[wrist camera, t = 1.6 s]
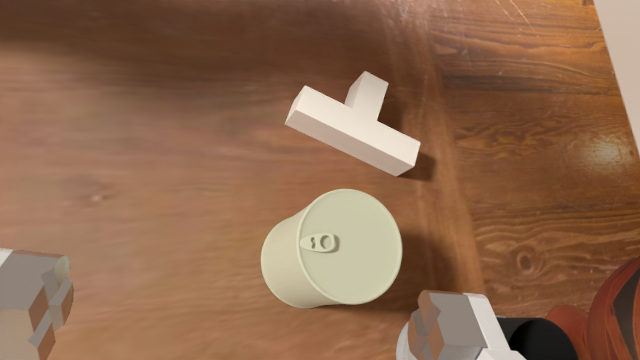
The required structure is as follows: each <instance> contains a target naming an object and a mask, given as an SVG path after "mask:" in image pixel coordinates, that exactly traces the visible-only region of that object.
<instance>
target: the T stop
mask: <svg viewBox="0 0 640 360" xmlns="http://www.w3.org/2000/svg"><path fill="white" fill-rule="evenodd" d="M387 87H388V83H387V82H385V81H383V80H382V79H380V78H378V77H376V76H374V75H372V74H370V73H368V72H366V71H364V72H363V73H362V75H361V76H360V77H359V78H358V79H357V80H356V81H355V82H354V83H353V84H352V85H351V87H350V89H349V92H348V94H347V97H346V100H345V103H344V104H342V103H340V102H338V101H336V100H334V99H332V98H330V97H328V96H326V95H324V94H322V93H320V92H318V91H316V90H314V89H312V88H310V87H308V86H306V85H305V86H304V87H303V89H302V90H301V92H300V93H299V95H298V96H297V97H296V99H295V100H294V102H293V104H292V107H291V109H290V112H289V114H288V117H287V119H286V122H285V125H287V126H289V127H291V128H293V129H296V130H298V131H300V132H302V133H304V134H306V135H308V136H310V137H313V138H315V139H317V140H319V141H321V142H323V143H325V144H327V145H330V146H332V147H334V148H336V149H338V150H340V151H342V152H344V153H347V154H349V155H351V156H353V157H355V158H357V159H359V160H361V161H364V162H366V163H368V164H370V165H372V166H374V167H376V168H378V169H381V170H383V171H385V172H387V173H389V174H391V175H393V176H395V177H396V176H398V175H400V174H402V173H403V172H405V171H407V170H409V169H411V168H412V167H414V166H415V162H416V158H417V154H418V150H419V147H420V142H418V141H416V140H414V139H412V138H410V137H408V136H406V135H404V134H402V133H400V132H398V131H396V130H394V129H392V128H390V127H388V126H386V125H384V124H382V123H380V122H378V121H377V119H378V116H379V112H380V109H381V106H382V103H383V99H384V96H385V93H386V90H387Z"/></svg>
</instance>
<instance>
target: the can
mask: <svg viewBox="0 0 640 360" xmlns="http://www.w3.org/2000/svg"><path fill="white" fill-rule="evenodd" d="M401 261H402V240H401V236H400V232H399V229H398V226H397V224H396V222H395V220H394V218H393V217H392V215H391V214H390V212H389V211H388V210H387V208H386V207H385V206H384V205H383V204H382V203H381V202H379V201H378V200H377V199H375V198H374V197H372V196H370V195H369V194H367V193H364V192H361V191H358V190H353V189H338V190H333V191H330V192H328V193H325V194H323V195H321V196H320V197H318V198H317V199H316V200H314V201H313V202H312V203H311V204H310V205H309V206H307V207H306V208H305V209H303V210H302V211H300V212H299V213H297V214H296V215H294V216H293V217H290V218H288V219H285V220H284V221H282V222H280V223H279V224H278V225H276V226H275V227H274V228H273V229H272V230H271V232H270V233H269V235H268V236H267V238H266V240H265V242H264V245H263V248H262V253H261V268H262V273H263V276H264V279H265V281H266V283H267V285H268V287H269V288H270V290H271V291H272V292H273V293H274V295H275V296H276V297H278V298H279V299H280V300H281V301H283V302H285V303H286V304H288V305H291V306H294V307H298V308H314V307H318V306H321V305H331V304H351V305H355V304H362V303H366V302H369V301H372V300H374V299H376V298H378V297H379V296H381V295H382V294H383V293H384V292H386V291H387V290H388V289H389V287H390V286H391V285H392V283H393V282H394V280H395V278H396V276H397V274H398V272H399V269H400V266H401Z"/></svg>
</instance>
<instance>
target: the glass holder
mask: <svg viewBox="0 0 640 360" xmlns="http://www.w3.org/2000/svg"><path fill="white" fill-rule="evenodd" d="M495 317H496V319H497V321H498V323H499V325H500V328H501V330H502V332H503V334H504V336H505V339H506V341H507V343H508V345H509V347H510V350H512V351H517V352H518V353H519V354H521V355H522V356H523V357H524V358H525V359H526V360H579V359H578V356H577V353H576V350H575V348H574V346H573V344H572V342H571V340H570V339H569V337H568V336H567V334H566V333H565V332H564V331H563V330H562V329H561V328H560V327H559V326H558V325H556V324H555V323H553V322H551V321H549V320H547V319H543V318H507V317H504V316H495ZM408 323H409V321H408V322H407V324H406V325H405V326H404V328H403V329H402V331H401V333H400V336H399V339H398V342H397V349H396V359H397V360H417V359H416V357H415V356H414V355H413V354H412V353H411V352H410V349H409V344H408V335H407V332H408Z"/></svg>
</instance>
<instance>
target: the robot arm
mask: <svg viewBox="0 0 640 360" xmlns="http://www.w3.org/2000/svg"><path fill="white" fill-rule="evenodd" d="M69 270H70V264H69V259H68V257H67V256H65V255H59V254H51V253H42V252H34V251H26V250H13V249H5V248H0V360H47V358H48V356H49V354H50V352H51V350H52V348H53V346H54V344H55V336H54V331H56V330H57V329H59V328H60V327H61V326H63V325H64V324H65V322H66V320H67V318H68V316H69V314H70V310H71V306H72V302H73V292H74V290H73V283H72V282H71V281H70V280H69V279H68V278H67V277H66V275H67V273H68V271H69ZM417 301H418V305H419V309H417V310H416V311H414V312H413V313H412V314H411V317H410V320H409V323H408V332H407V335H408V344H409V349H410V352H411V353H412V354H413V355H414V356H415V357H416V359H417V360H526V359H525V358H524V357H523V356H522V355H521V354H519V353H518V352H517V351H512V350H510V347H509V345H508V343H507V341H506V339H505V336H504V334H503V332H502V330H501V328H500V325H499V323H498V321H497V319H496V317H495V314H494V312H493V310H492V308H491V305H490V303H489V301H488V299H487V297H485V296H484V295H482V294H471V293H459V292H447V291H435V290H423V291H422V292H421V293H420V295H419V298H418V300H417Z"/></svg>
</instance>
